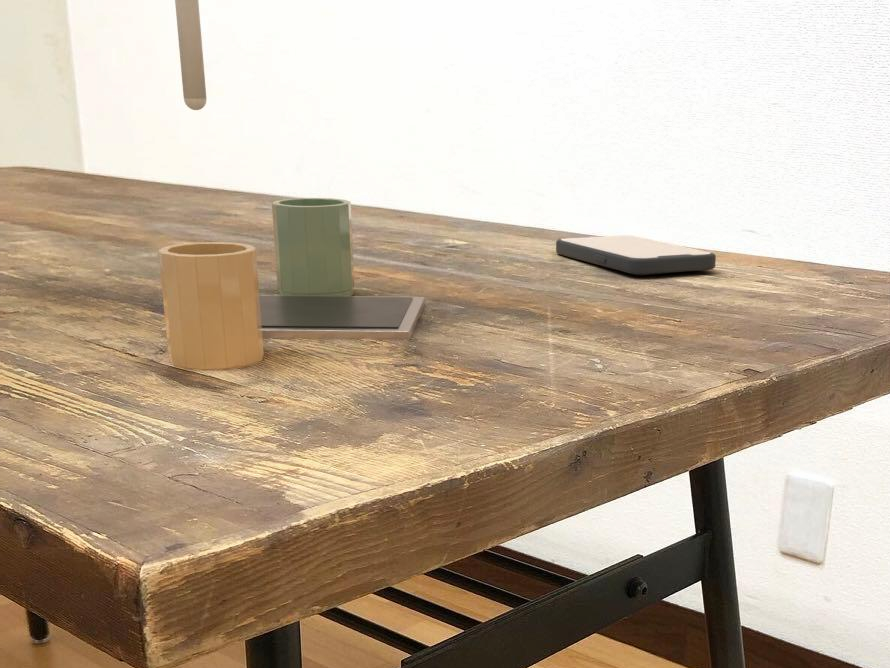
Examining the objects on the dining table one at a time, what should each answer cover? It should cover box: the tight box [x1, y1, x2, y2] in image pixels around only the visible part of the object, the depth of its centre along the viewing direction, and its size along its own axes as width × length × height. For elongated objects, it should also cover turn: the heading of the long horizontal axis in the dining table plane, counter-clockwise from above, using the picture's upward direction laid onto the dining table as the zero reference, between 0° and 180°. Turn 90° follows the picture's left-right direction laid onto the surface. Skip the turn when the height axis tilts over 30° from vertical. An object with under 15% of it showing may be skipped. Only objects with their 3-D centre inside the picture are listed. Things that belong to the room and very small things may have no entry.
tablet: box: [161, 294, 426, 341], centre depth 85 cm, size 16×12×1 cm
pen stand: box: [157, 241, 265, 371], centre depth 73 cm, size 5×6×7 cm
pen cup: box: [271, 197, 355, 296], centre depth 95 cm, size 6×6×7 cm
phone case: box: [555, 234, 717, 277], centre depth 112 cm, size 9×2×16 cm
